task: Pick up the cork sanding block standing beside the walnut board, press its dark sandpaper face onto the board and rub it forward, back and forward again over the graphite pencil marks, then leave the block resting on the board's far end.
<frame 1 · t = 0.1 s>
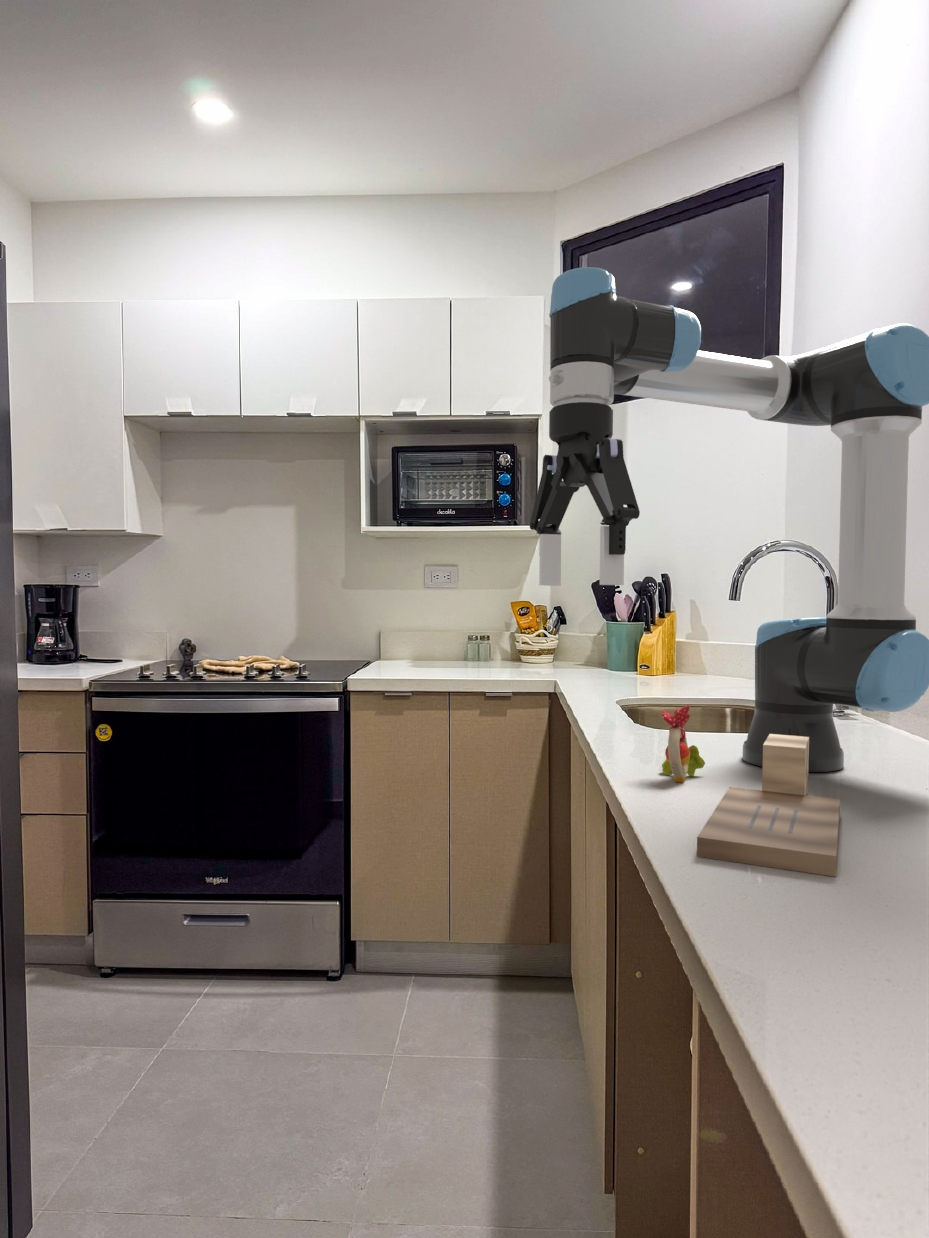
hand: (578, 585, 96), 28 cm above the countertop, fingers open, 13 cm apart
sanding block: (785, 801, 105), on the countertop
walnut board: (774, 833, 90), on the countertop
bird rattle: (680, 779, 117), on the countertop
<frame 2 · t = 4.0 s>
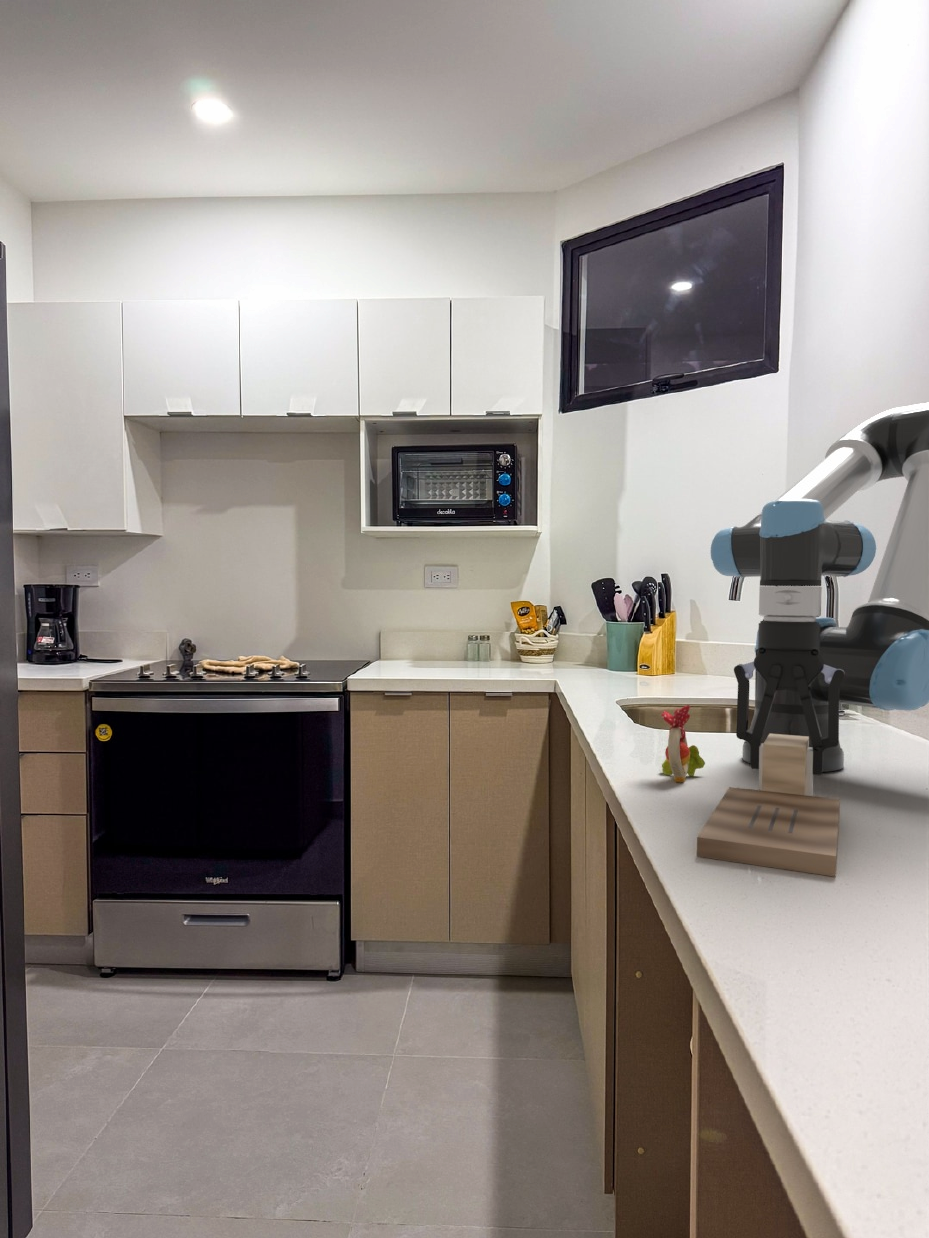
hand: (785, 795, 105), 1 cm above the countertop, fingers closed on sanding block, 5 cm apart
sanding block: (785, 800, 105), on the countertop, touching gripper, walnut board
everything else where it was.
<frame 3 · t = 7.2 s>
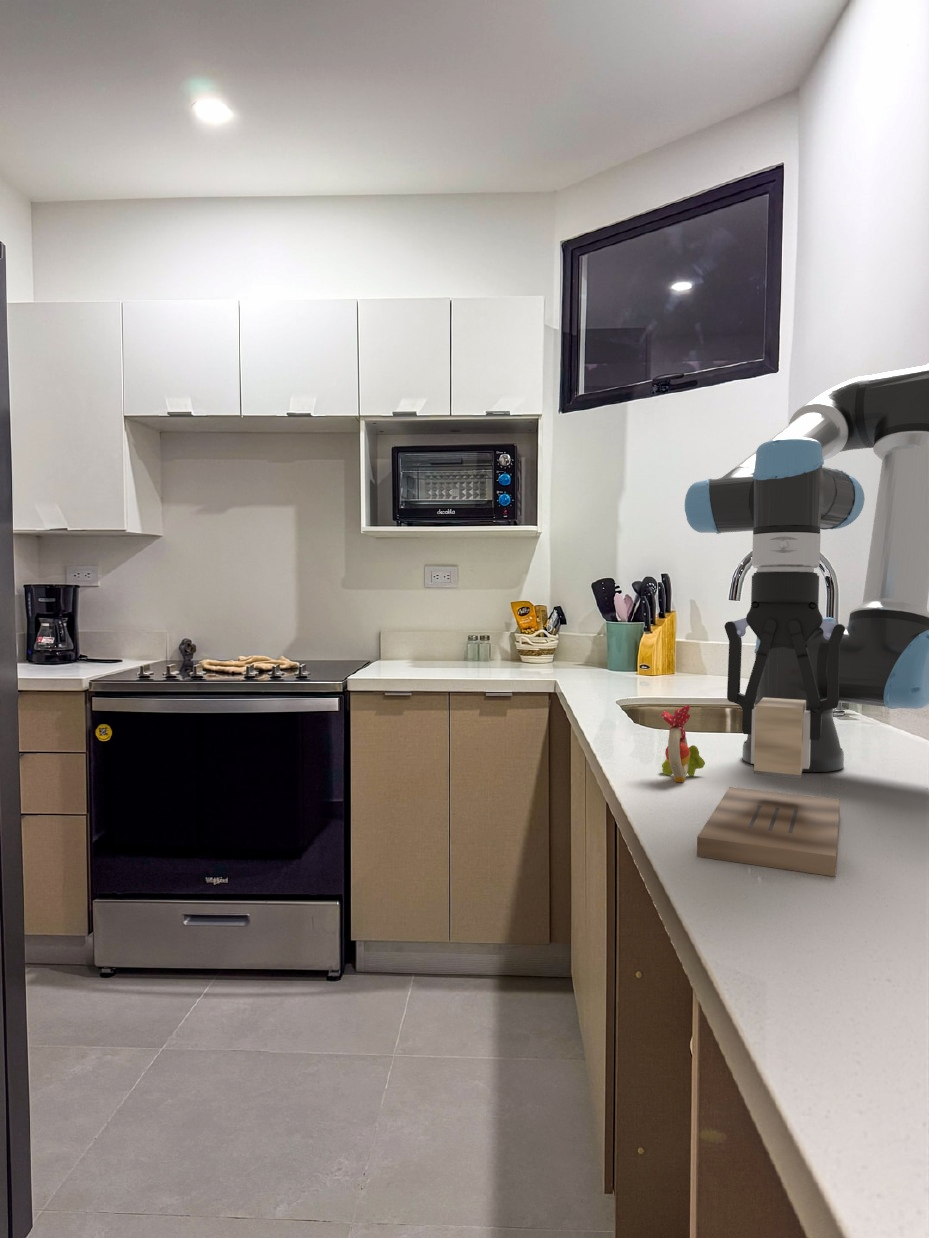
hand: (780, 763, 96), 7 cm above the countertop, fingers closed on sanding block, 5 cm apart
sanding block: (779, 768, 96), point 6 cm above the countertop, touching gripper
everything else where it was.
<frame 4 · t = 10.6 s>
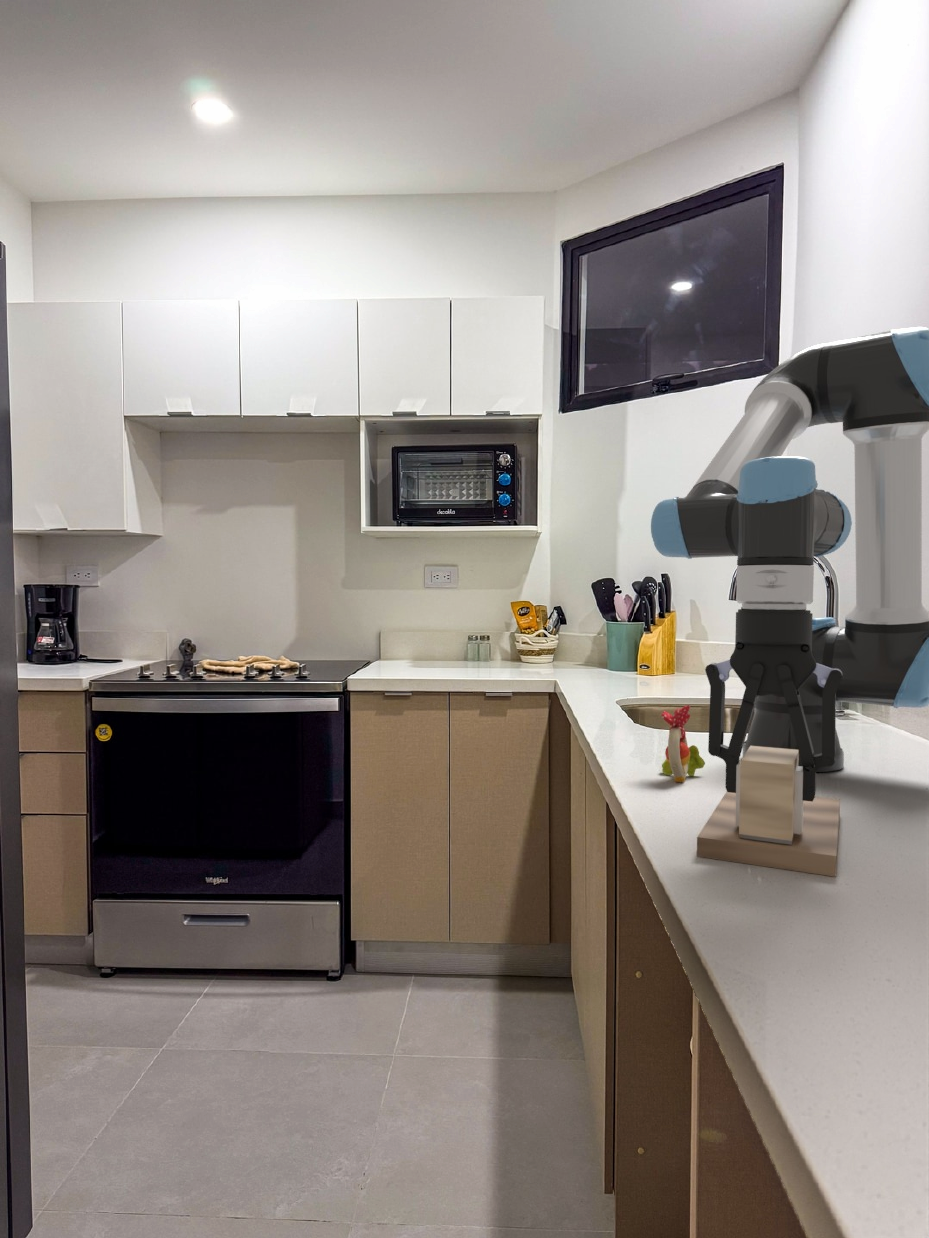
hand: (768, 826, 85), 2 cm above the countertop, fingers closed on sanding block, 5 cm apart
sanding block: (769, 829, 85), point 2 cm above the countertop, touching gripper
everything else where it was.
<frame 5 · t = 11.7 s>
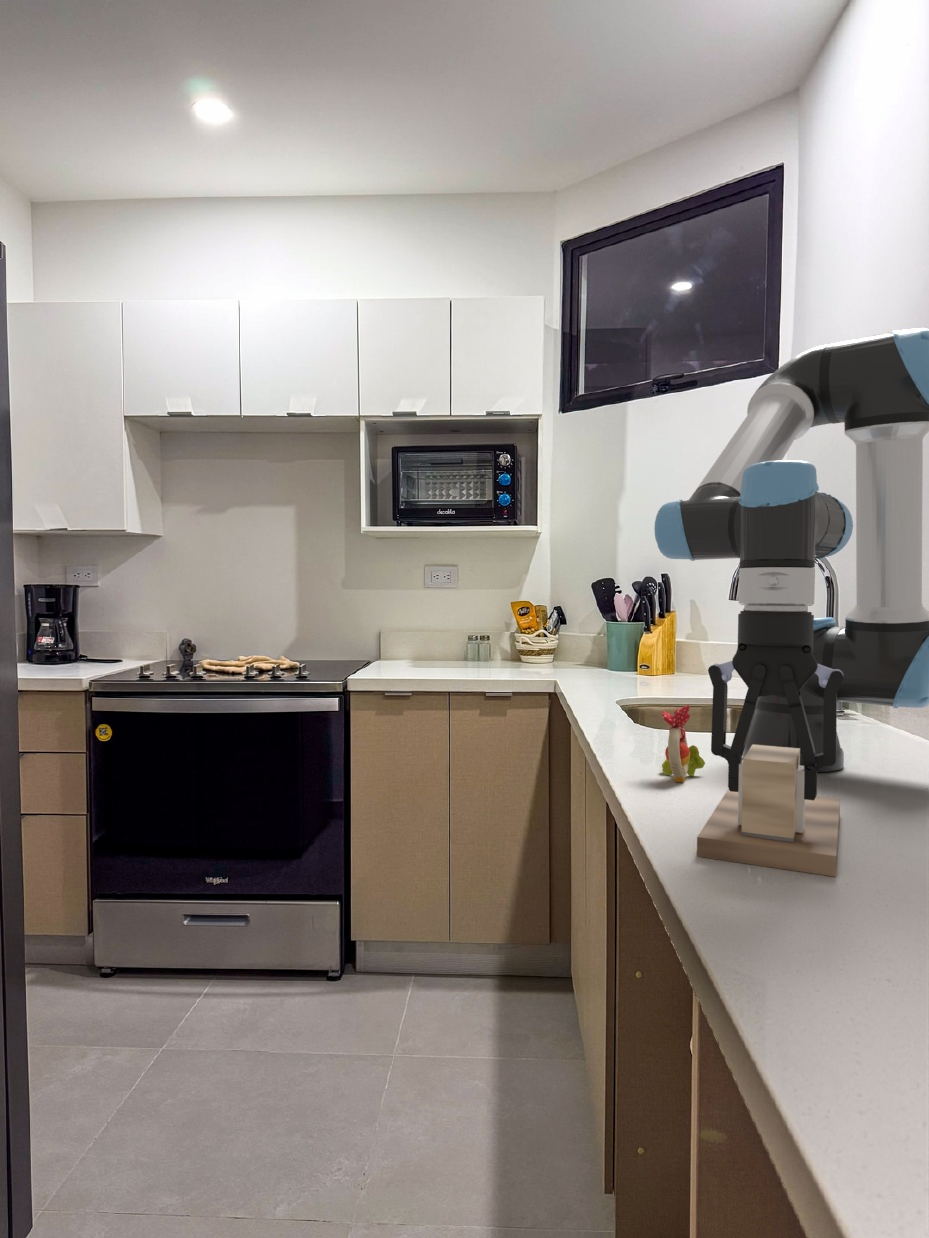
hand: (770, 824, 86), 2 cm above the countertop, fingers closed on sanding block, 5 cm apart
sanding block: (771, 827, 86), point 2 cm above the countertop, touching gripper
everything else where it was.
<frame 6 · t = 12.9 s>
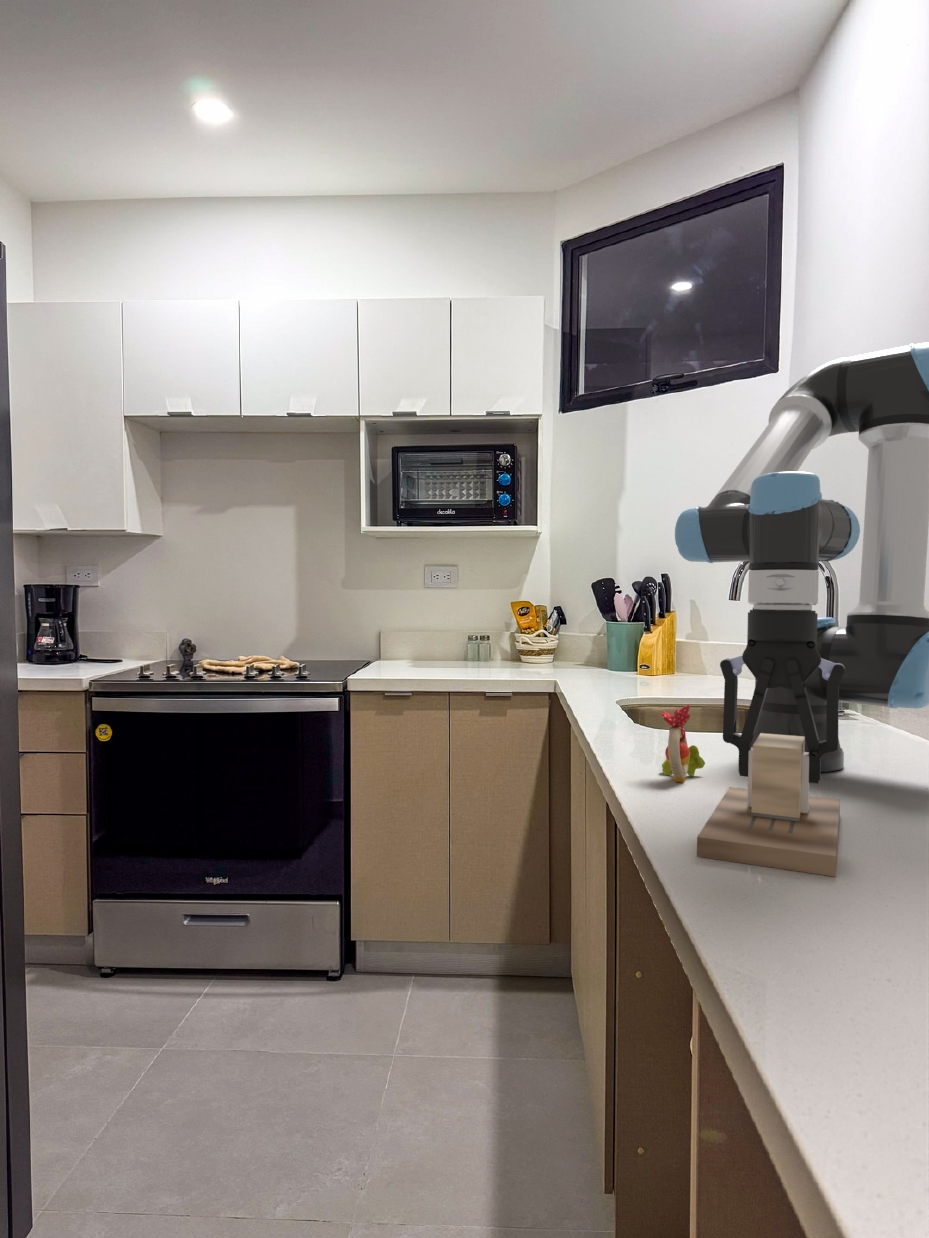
hand: (778, 806, 93), 2 cm above the countertop, fingers closed on sanding block, 5 cm apart
sanding block: (778, 808, 93), point 2 cm above the countertop, touching gripper
everything else where it was.
when the fingers open (4 cm above the countertop, at t = 17.5 s): sanding block drops 1 cm, resting on walnut board.
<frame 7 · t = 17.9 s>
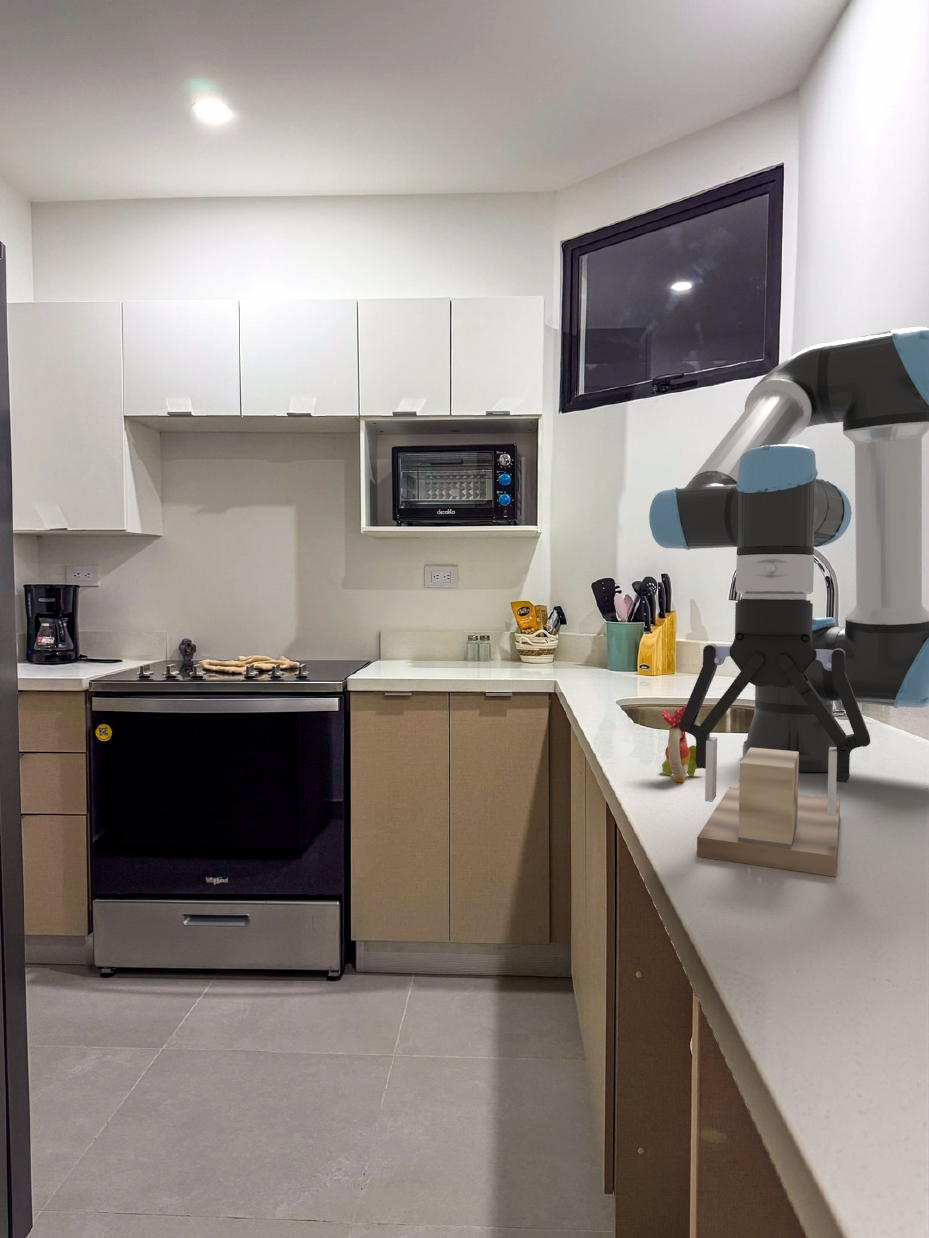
hand: (769, 805, 84), 5 cm above the countertop, fingers open, 11 cm apart
sanding block: (768, 832, 84), point 2 cm above the countertop, touching walnut board
everything else where it was.
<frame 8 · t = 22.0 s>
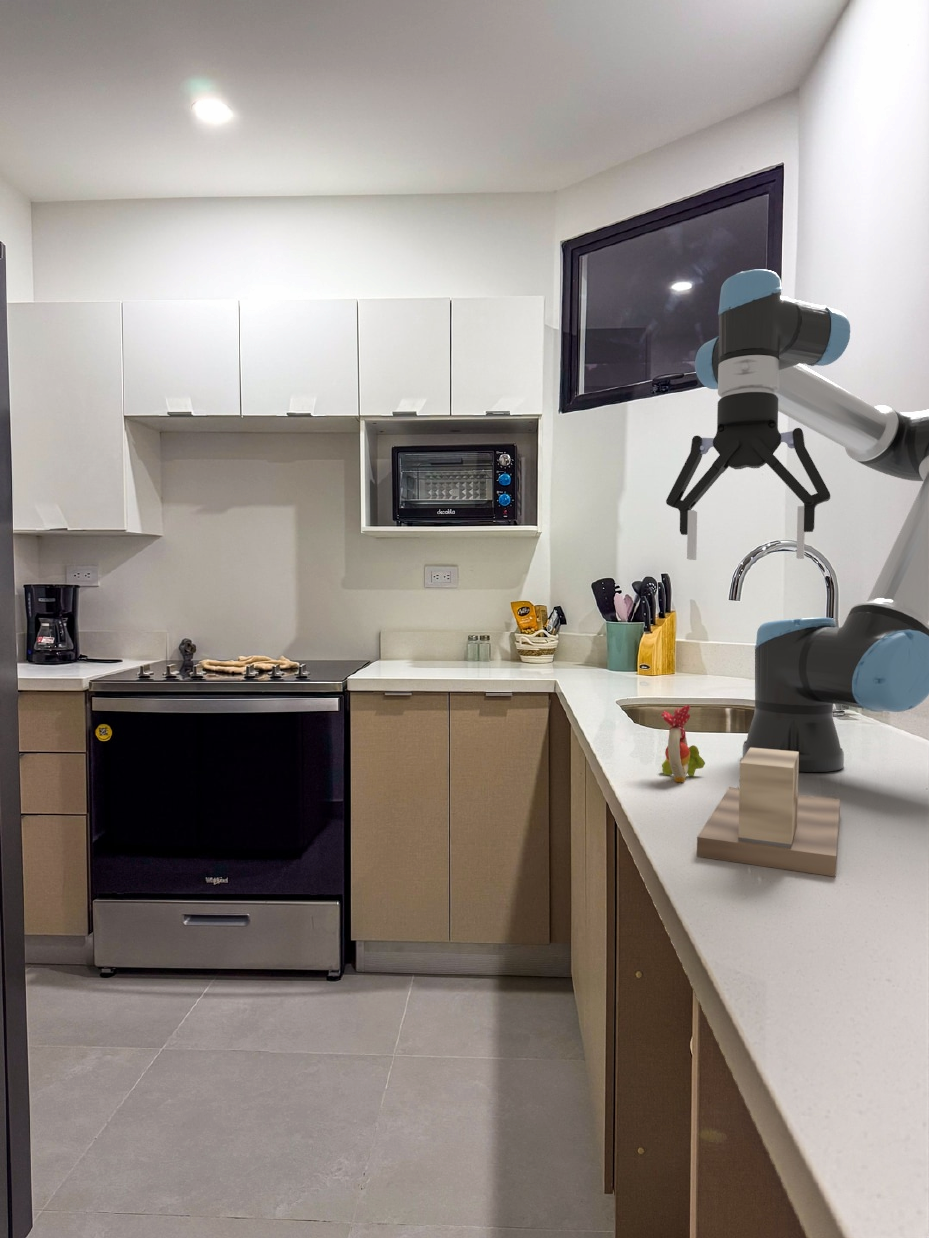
hand: (744, 559, 105), 32 cm above the countertop, fingers open, 13 cm apart
nothing on the countertop moved.
at the end: sanding block inside the target area on the walnut board (0.2 cm from its centre), point 2.0 cm above the walnut board's base; sanding block tilted 0°; the gripper is holding nothing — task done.
